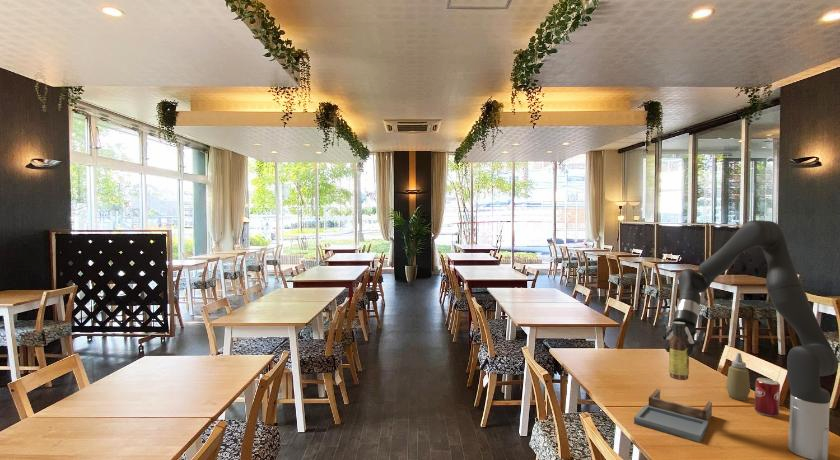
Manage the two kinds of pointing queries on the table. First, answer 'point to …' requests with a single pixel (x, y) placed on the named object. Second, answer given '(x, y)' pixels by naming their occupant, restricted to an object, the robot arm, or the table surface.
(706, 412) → the holder
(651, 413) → the tray
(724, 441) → the table surface
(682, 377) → the sauce bottle
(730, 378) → the squeeze bottle
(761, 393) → the soda can
